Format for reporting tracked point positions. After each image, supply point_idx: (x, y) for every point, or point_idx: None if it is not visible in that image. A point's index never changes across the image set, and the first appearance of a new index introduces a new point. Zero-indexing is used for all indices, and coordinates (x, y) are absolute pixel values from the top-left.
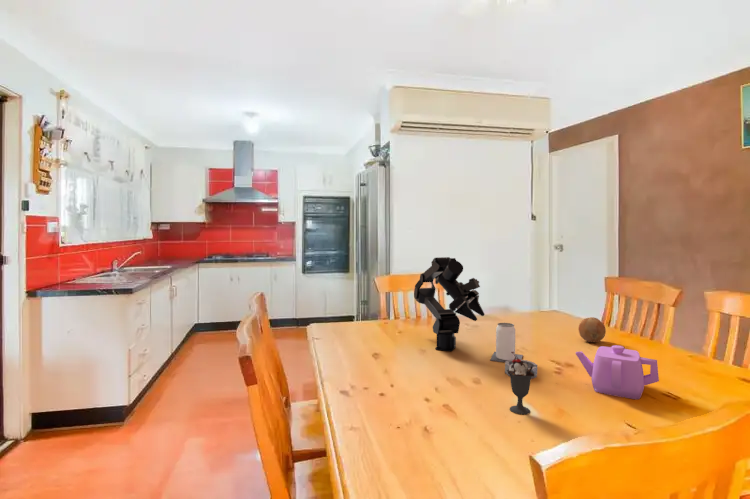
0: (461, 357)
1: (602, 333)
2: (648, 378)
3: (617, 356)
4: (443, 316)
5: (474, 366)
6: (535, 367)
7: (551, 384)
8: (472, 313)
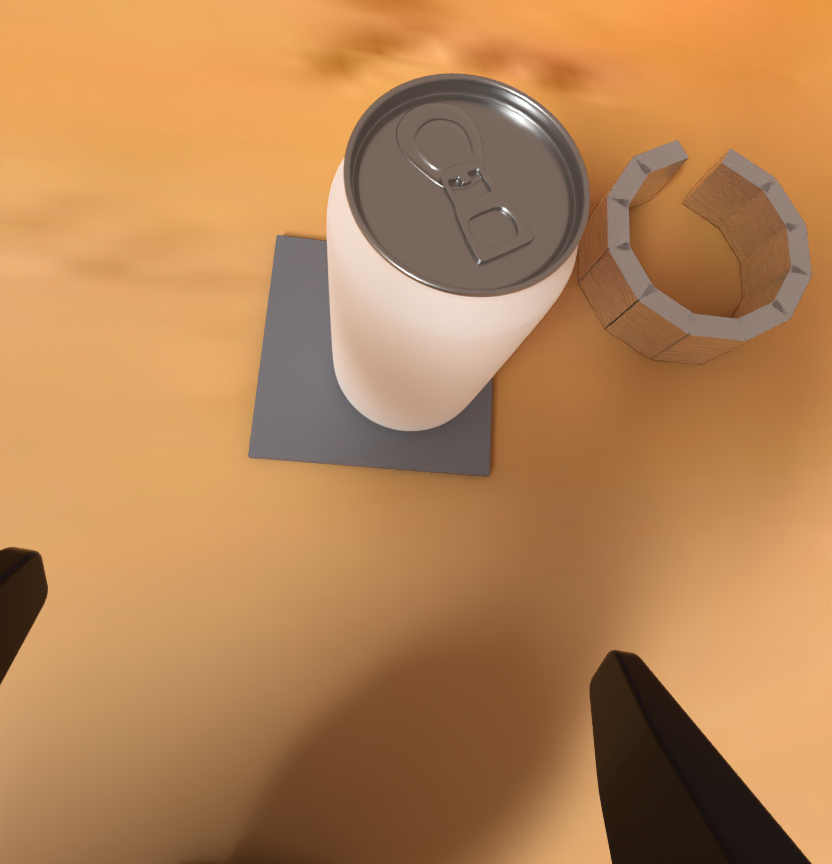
0: (484, 730)
1: None
2: None
3: None
4: None
5: (664, 580)
6: (733, 156)
7: (766, 133)
8: (775, 822)
